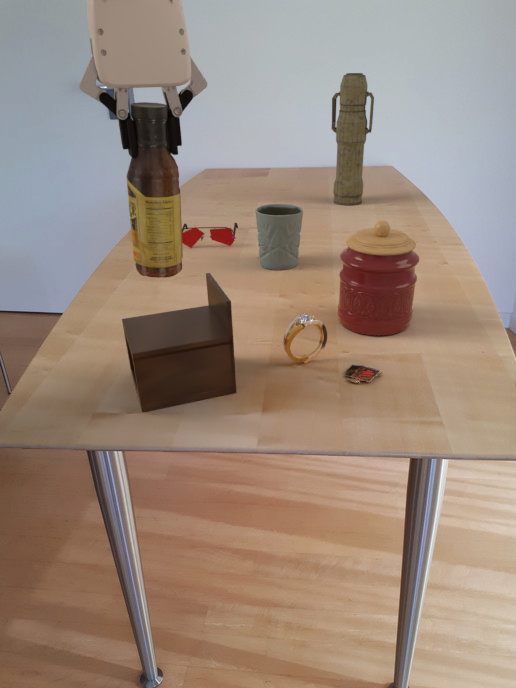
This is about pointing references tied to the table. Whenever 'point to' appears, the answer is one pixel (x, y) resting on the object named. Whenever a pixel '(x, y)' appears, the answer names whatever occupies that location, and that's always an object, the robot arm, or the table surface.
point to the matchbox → (361, 373)
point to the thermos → (351, 137)
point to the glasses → (217, 235)
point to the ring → (303, 321)
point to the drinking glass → (279, 235)
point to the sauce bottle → (154, 195)
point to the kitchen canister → (377, 281)
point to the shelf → (183, 352)
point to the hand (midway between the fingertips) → (153, 152)
